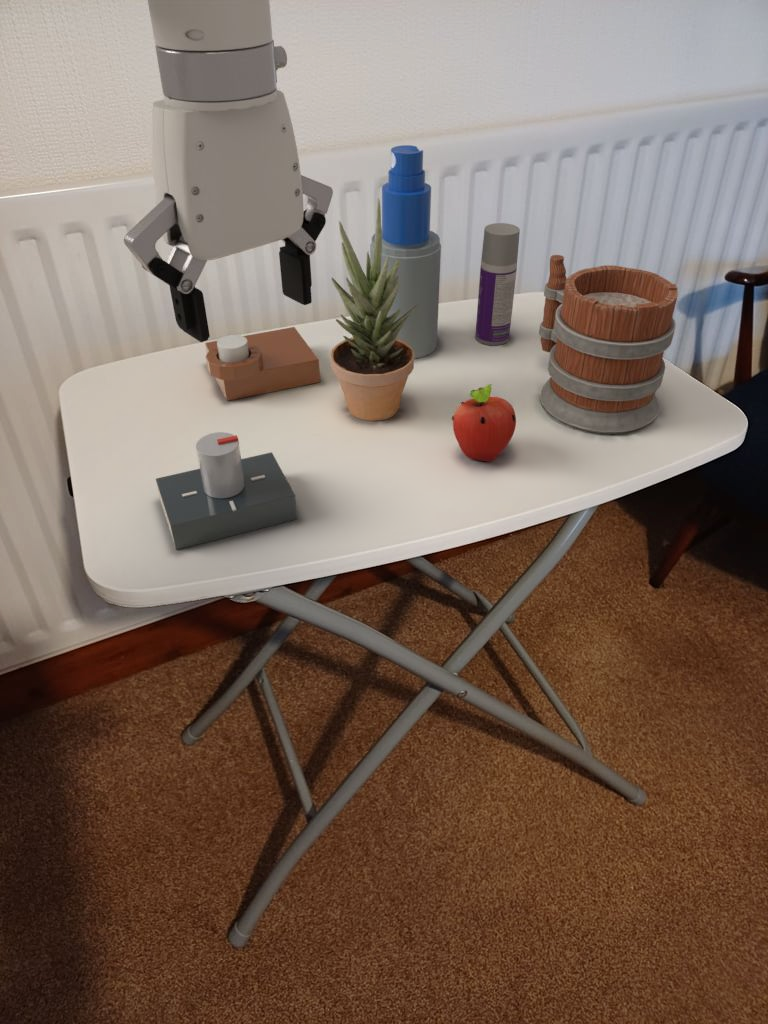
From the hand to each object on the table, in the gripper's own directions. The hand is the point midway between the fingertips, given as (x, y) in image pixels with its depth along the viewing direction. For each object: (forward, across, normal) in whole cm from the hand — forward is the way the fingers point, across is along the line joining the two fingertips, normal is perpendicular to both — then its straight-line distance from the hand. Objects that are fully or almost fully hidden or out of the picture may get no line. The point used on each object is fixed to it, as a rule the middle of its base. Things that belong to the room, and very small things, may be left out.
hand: (248, 316), depth 63 cm
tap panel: (+22, +2, -5) cm, 23 cm away
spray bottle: (+22, -36, -20) cm, 47 cm away
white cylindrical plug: (+18, -12, -25) cm, 33 cm away
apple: (+22, -24, +5) cm, 33 cm away
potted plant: (+22, -22, -10) cm, 33 cm away
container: (+23, -46, -14) cm, 53 cm away
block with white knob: (+22, -17, -26) cm, 38 cm away
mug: (+23, -44, +4) cm, 49 cm away
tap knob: (+19, +2, -5) cm, 20 cm away
